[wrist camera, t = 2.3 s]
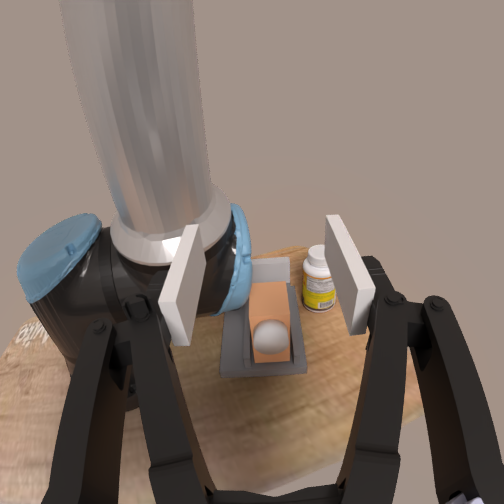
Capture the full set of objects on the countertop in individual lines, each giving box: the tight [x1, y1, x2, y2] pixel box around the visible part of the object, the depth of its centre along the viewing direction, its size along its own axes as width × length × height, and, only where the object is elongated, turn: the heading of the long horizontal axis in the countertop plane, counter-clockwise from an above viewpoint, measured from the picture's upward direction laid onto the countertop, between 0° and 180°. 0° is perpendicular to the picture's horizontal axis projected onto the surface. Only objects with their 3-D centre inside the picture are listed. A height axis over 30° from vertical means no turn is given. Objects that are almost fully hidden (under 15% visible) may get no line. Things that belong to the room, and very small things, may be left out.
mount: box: [219, 257, 307, 378], centre depth 44 cm, size 12×17×8 cm
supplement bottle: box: [302, 245, 336, 313], centre depth 48 cm, size 6×6×10 cm
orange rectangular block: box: [249, 281, 290, 363], centre depth 38 cm, size 5×8×9 cm, turn 0°
